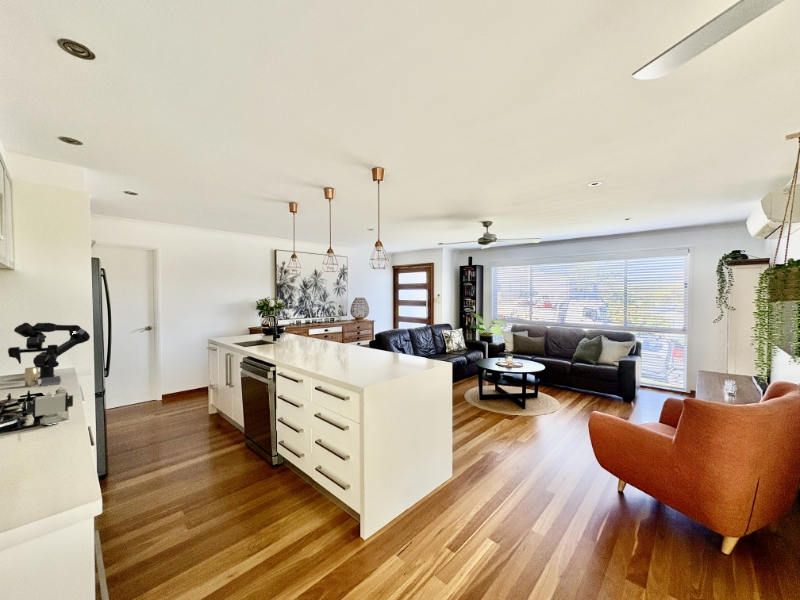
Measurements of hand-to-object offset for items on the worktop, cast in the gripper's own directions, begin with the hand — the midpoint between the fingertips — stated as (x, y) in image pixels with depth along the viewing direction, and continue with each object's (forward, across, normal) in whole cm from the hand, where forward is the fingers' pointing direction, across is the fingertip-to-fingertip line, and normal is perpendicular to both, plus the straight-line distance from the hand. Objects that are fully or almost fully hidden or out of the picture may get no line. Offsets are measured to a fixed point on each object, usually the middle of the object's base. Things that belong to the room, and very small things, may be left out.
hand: (32, 362), depth 179 cm
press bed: (+13, +8, +4) cm, 16 cm away
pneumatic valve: (+74, +15, -56) cm, 94 cm away
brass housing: (+13, 0, +4) cm, 14 cm away
